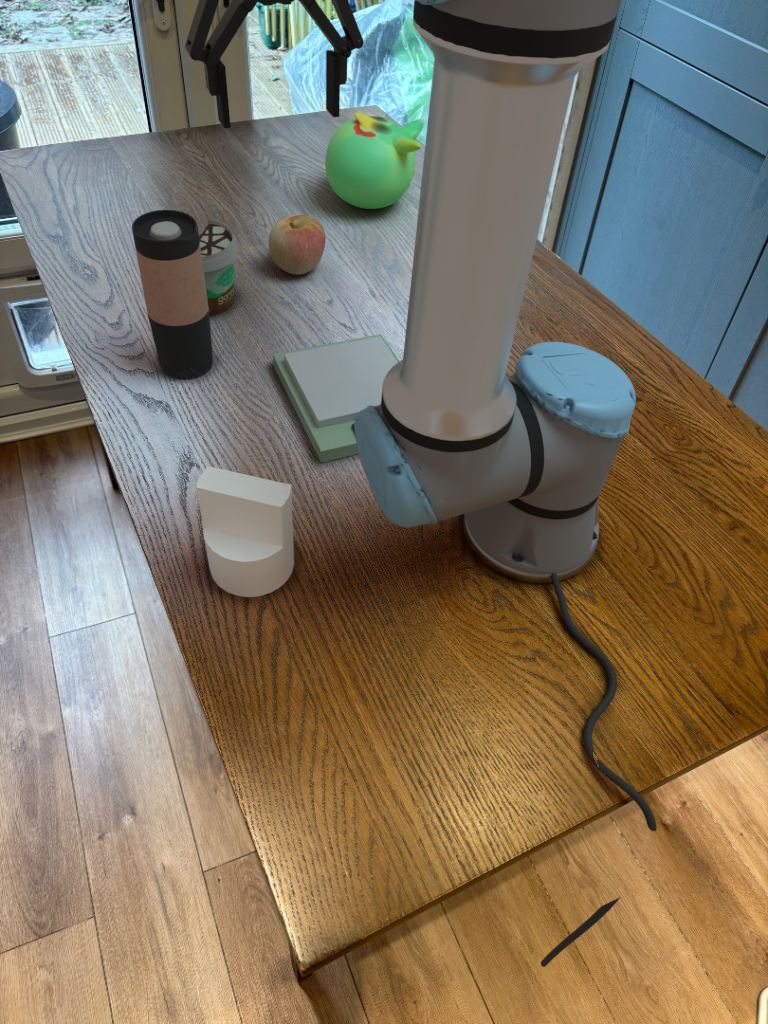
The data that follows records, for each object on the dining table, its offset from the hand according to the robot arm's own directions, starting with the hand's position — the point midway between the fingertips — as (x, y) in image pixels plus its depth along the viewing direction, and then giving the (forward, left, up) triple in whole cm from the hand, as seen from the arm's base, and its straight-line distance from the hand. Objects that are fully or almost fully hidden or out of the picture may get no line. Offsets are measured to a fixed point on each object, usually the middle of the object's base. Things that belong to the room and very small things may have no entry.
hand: (279, 118), depth 91 cm
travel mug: (-7, +16, -28) cm, 33 cm away
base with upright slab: (-43, +17, -28) cm, 54 cm away
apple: (+12, -6, -28) cm, 31 cm away
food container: (+6, +8, -28) cm, 30 cm away
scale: (-21, -3, -28) cm, 35 cm away
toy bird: (+30, -26, -28) cm, 48 cm away
